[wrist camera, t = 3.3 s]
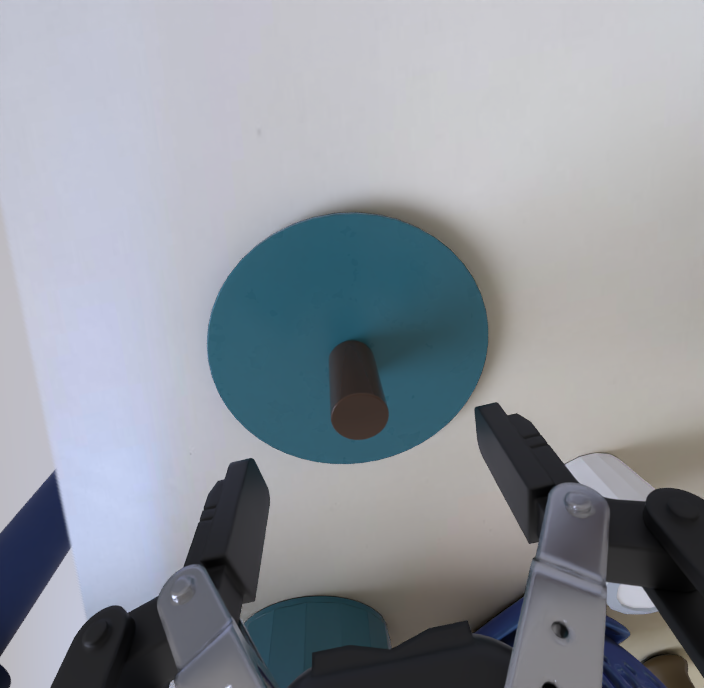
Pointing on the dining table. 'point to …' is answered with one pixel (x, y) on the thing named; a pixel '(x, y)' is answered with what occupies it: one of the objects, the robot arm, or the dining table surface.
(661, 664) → the kendama
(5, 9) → the dining table surface
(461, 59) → the dining table surface
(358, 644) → the tin
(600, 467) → the shot glass
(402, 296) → the lid
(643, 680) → the flower pot
